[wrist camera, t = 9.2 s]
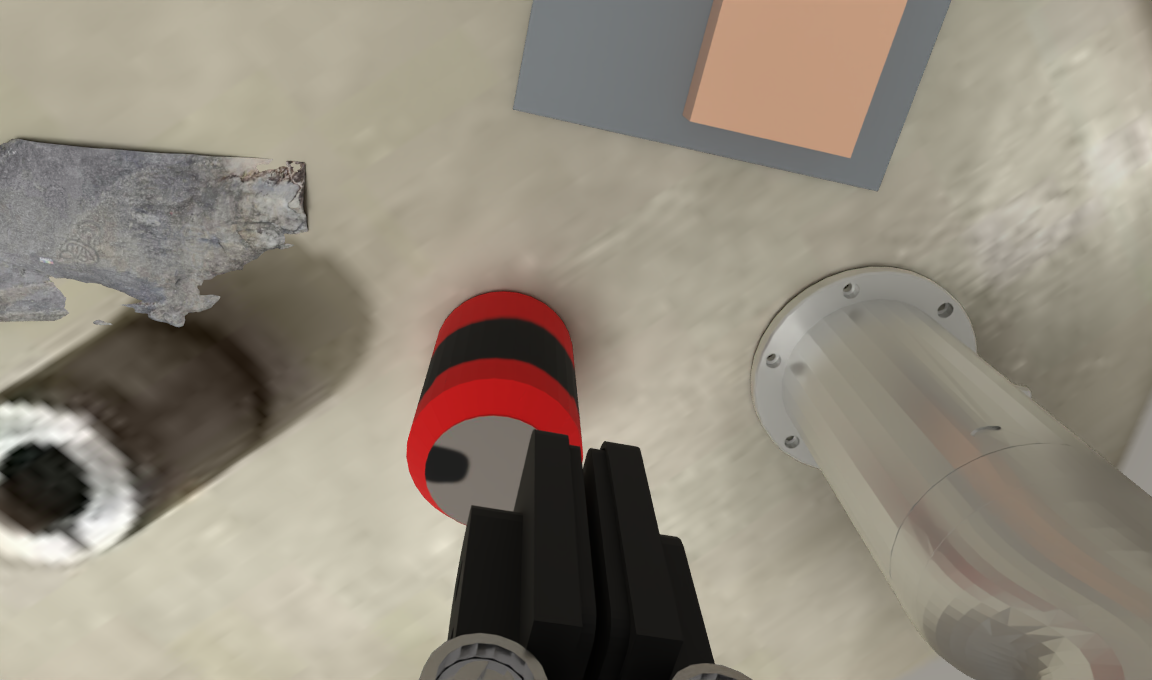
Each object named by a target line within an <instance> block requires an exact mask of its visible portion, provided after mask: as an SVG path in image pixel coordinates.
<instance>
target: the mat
mask: <svg viewBox="0 0 1152 680" xmlns="http://www.w3.org/2000/svg"><path fill="white" fill-rule="evenodd" d="M950 2H951V0H908V1H907V3H906V6H905V9H904V12H903V14H902V17H901V20H900V23H899V25H898V28H897V31H896V34H895V36H894V39H893V42H892V45H891V47H890V50H889V53H888V56H887V58H886V61H885V64H884V67H883V70H882V72H881V75H880V78H879V81H878V83H877V86H876V89H875V92H874V94H873V97H872V100H871V103H870V105H869V108H868V111H867V114H866V116H865V119H864V122H863V125H862V127H861V130H860V133H859V136H858V138H857V141H856V144H855V147H854V149H853V152H852V155H851V158H847V157H843V156H839V155H834V154H830V153H826V152H821V151H817V150H813V149H808V148H804V147H800V146H795V145H791V144H786V143H782V142H778V141H773V140H769V139H765V138H760V137H756V136H752V135H747V134H743V133H739V132H734V131H730V130H725V129H721V128H717V127H712V126H708V125H704V124H699V123H695V122H691V121H689V120H688V119H686V118H685V117H684V116H683V111H684V107H685V103H686V100H687V96H688V92H689V89H690V85H691V81H692V78H693V74H694V70H695V67H696V63H697V59H698V56H699V52H700V48H701V44H702V41H703V37H704V33H705V30H706V26H707V22H708V19H709V15H710V11H711V8H712V4H713V0H533V4H532V9H531V15H530V20H529V26H528V31H527V36H526V42H525V47H524V52H523V58H522V63H521V69H520V74H519V79H518V85H517V90H516V96H515V101H514V106H513V110H518V111H522V112H527V113H531V114H535V115H540V116H544V117H549V118H553V119H558V120H562V121H567V122H571V123H576V124H580V125H584V126H589V127H593V128H598V129H602V130H607V131H611V132H616V133H620V134H625V135H629V136H633V137H638V138H642V139H647V140H651V141H656V142H660V143H665V144H669V145H673V146H678V147H682V148H687V149H691V150H696V151H700V152H705V153H709V154H714V155H718V156H722V157H727V158H731V159H736V160H740V161H745V162H749V163H754V164H758V165H763V166H767V167H771V168H776V169H780V170H785V171H789V172H794V173H798V174H803V175H807V176H812V177H816V178H820V179H825V180H829V181H834V182H838V183H843V184H847V185H852V186H856V187H860V188H865V189H869V190H874V191H878V190H879V187H880V185H881V182H882V180H883V177H884V174H885V172H886V169H887V167H888V164H889V161H890V159H891V156H892V154H893V151H894V148H895V146H896V143H897V141H898V138H899V135H900V133H901V130H902V128H903V125H904V122H905V120H906V117H907V115H908V112H909V109H910V107H911V104H912V101H913V99H914V96H915V94H916V91H917V88H918V86H919V83H920V81H921V78H922V75H923V73H924V70H925V68H926V65H927V62H928V60H929V57H930V55H931V52H932V49H933V47H934V44H935V42H936V39H937V36H938V34H939V31H940V29H941V26H942V23H943V21H944V18H945V16H946V13H947V10H948V8H949V5H950Z"/></svg>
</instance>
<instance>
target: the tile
mask: <svg viewBox="0 0 1152 680" xmlns="http://www.w3.org/2000/svg"><path fill="white" fill-rule="evenodd" d="M907 1H908V0H713V4H712V8H711V11H710V15H709V19H708V22H707V26H706V30H705V33H704V37H703V41H702V44H701V48H700V52H699V56H698V59H697V63H696V67H695V70H694V74H693V78H692V81H691V85H690V89H689V92H688V96H687V100H686V103H685V107H684V111H683V116H684V117H685V118H686V119H688V120H689V121H691V122H695V123H699V124H704V125H708V126H712V127H717V128H721V129H725V130H730V131H734V132H739V133H743V134H747V135H752V136H756V137H760V138H765V139H769V140H773V141H778V142H782V143H786V144H791V145H795V146H800V147H804V148H808V149H813V150H817V151H821V152H826V153H830V154H834V155H839V156H843V157H847V158H851V155H852V152H853V149H854V147H855V144H856V141H857V138H858V136H859V133H860V130H861V127H862V125H863V122H864V119H865V116H866V114H867V111H868V108H869V105H870V103H871V100H872V97H873V94H874V92H875V89H876V86H877V83H878V81H879V78H880V75H881V72H882V70H883V67H884V64H885V61H886V58H887V56H888V53H889V50H890V47H891V45H892V42H893V39H894V36H895V34H896V31H897V28H898V25H899V23H900V20H901V17H902V14H903V12H904V9H905V6H906V3H907Z"/></svg>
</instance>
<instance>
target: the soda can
mask: <svg viewBox="0 0 1152 680" xmlns="http://www.w3.org/2000/svg"><path fill="white" fill-rule="evenodd" d="M534 429H536V430H542V431H547V432H553V433H559V434H565V435H568V436H569V445H575V446H580V448H581V457H582V461H583V449H582V437H581V427H580V417H579V408H578V398H577V388H576V378H575V368H574V358H573V348H572V342H571V339H570V335H569V332H568V330H567V329H566V327H565V325H564V323H563V321H562V320H561V319H560V318H559V317H558V315H557V314H556V313H555V312H554V311H553V310H552V309H550V308H549V307H548V306H547V305H545V304H544V303H543V302H541V301H539V300H537V299H535V298H533V297H531V296H527V295H524V294H520V293H515V292H506V291H502V292H490V293H486V294H482V295H479V296H476V297H474V298H472V299H470V300H468V301H466V302H464V303H463V304H461V305H460V306H459V307H457V308H456V309H455V310H454V311H453V312H452V313H451V314H450V315H449V316H448V318H447V319H446V320H445V322H444V323H443V325H442V327H441V329H440V331H439V334H438V338H437V341H436V344H435V348H434V351H433V355H432V358H431V362H430V365H429V369H428V372H427V375H426V379H425V382H424V386H423V389H422V393H421V396H420V400H419V403H418V406H417V410H416V413H415V417H414V420H413V424H412V427H411V431H410V434H409V437H408V441H407V456H406V457H407V462H408V468H409V472H410V474H411V477H412V479H413V481H414V484H415V486H416V487H417V488H418V490H419V491H420V493H421V494H422V495H423V497H424V498H425V499H426V500H427V501H428V502H429V503H430V504H431V505H432V506H434V507H435V508H436V509H437V510H439V511H440V512H442V513H444V514H445V515H447V516H448V517H450V518H452V519H454V520H455V521H457V522H459V523H461V524H464V525H466V526H467V522H468V517H469V512H470V508H471V506H472V505H474V506H481V507H487V508H494V509H500V510H506V511H514V506H515V502H516V498H517V493H518V489H519V485H520V480H521V476H522V472H523V468H524V463H525V459H526V455H527V450H528V446H529V442H530V438H531V434H532V431H533V430H534Z"/></svg>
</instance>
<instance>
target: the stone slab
mask: <svg viewBox="0 0 1152 680" xmlns="http://www.w3.org/2000/svg"><path fill="white" fill-rule="evenodd" d="M272 160H273V159H261V158H244V157H214V156H201V155H194V154H167V153H151V152H139V151H127V150H116V149H98V148H86V147H77V146H67V145H57V144H48V143H38V142H32V141H27V140H22V139H11V140H10V141H9V142H8V143H3V144H2V145H0V322H2V321H55V320H58V319H61V318H62V317H63V316H66V315H67V314H69V312H68V311H67V310H65V308H64V307H65V300H66V297H64V295H63V294H62V293H61V291H60V290H59V289H58V288H56V287H55V285H54V283H53V282H52V281H51V280H50V279H49V276H51V277H54V278H67V279H75V280H78V281H81V282H85V283H98V284H102V285H103V286H106V287H109V288H113V289H116V290H119V291H121V292H124V293H126V294H127V295H129V296H132V297H134V298H136V299H139V300H143V301H142V302H140V303H136V304H129V305H124V306H127V307H133V308H134V309H135V312H138V313H147V314H148V317H149V318H151V319H153V320H156V321H160V322H166V323H169V324H171V325H174V326H176V327H181V326H183V325H184V321H185V317H184V316H185V315H186V314H187V313H189V312H195V311H198V312H200V311H202V310H206V309H209V308H211V307H212V306H213V305H214V304H215V303H216V302H217V301H218V300H219V299H220V296H215V295H205V296H203V295H199V290H198V288H197V286H198V285H202V282H203V280H205V279H212V278H213V277H214V276H216V275H218V274H224V273H227V272H229V271H235V270H242V269H243V266H244V265H245V264H246V263H248V262H250V261H252V260H254V259H257V258H258V257H259V256H260V255H261V254H262V253H263V252H265V251H266V250H271V249H275V248H279V249H287V248H289V247H291V246H293V245H291V244H284V242H285V237H284V234H285V233H287V234H299V233H302V232H307V231H308V229H307V222H306V214H305V213H304V209H303V195H304V184H305V174H306V173H305V163H303V162H295V161H287V162H286V165H287V166H288V167H284V166H282V167H279V168H278V169H277V170H275V169H270V170H266V171H263V172H259V171H258V169H256V166H257V165H260V164H269V163H270V162H271V161H272ZM292 162H295V163H296V164H300V166H301V168H300V170H298V172H294V171H293V169H292V168H293V167H291V165H290V164H291V163H292ZM93 323H94V324H99V325H112V324H111V323H106V322H104V321H100V320H96V321H94V322H93Z"/></svg>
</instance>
